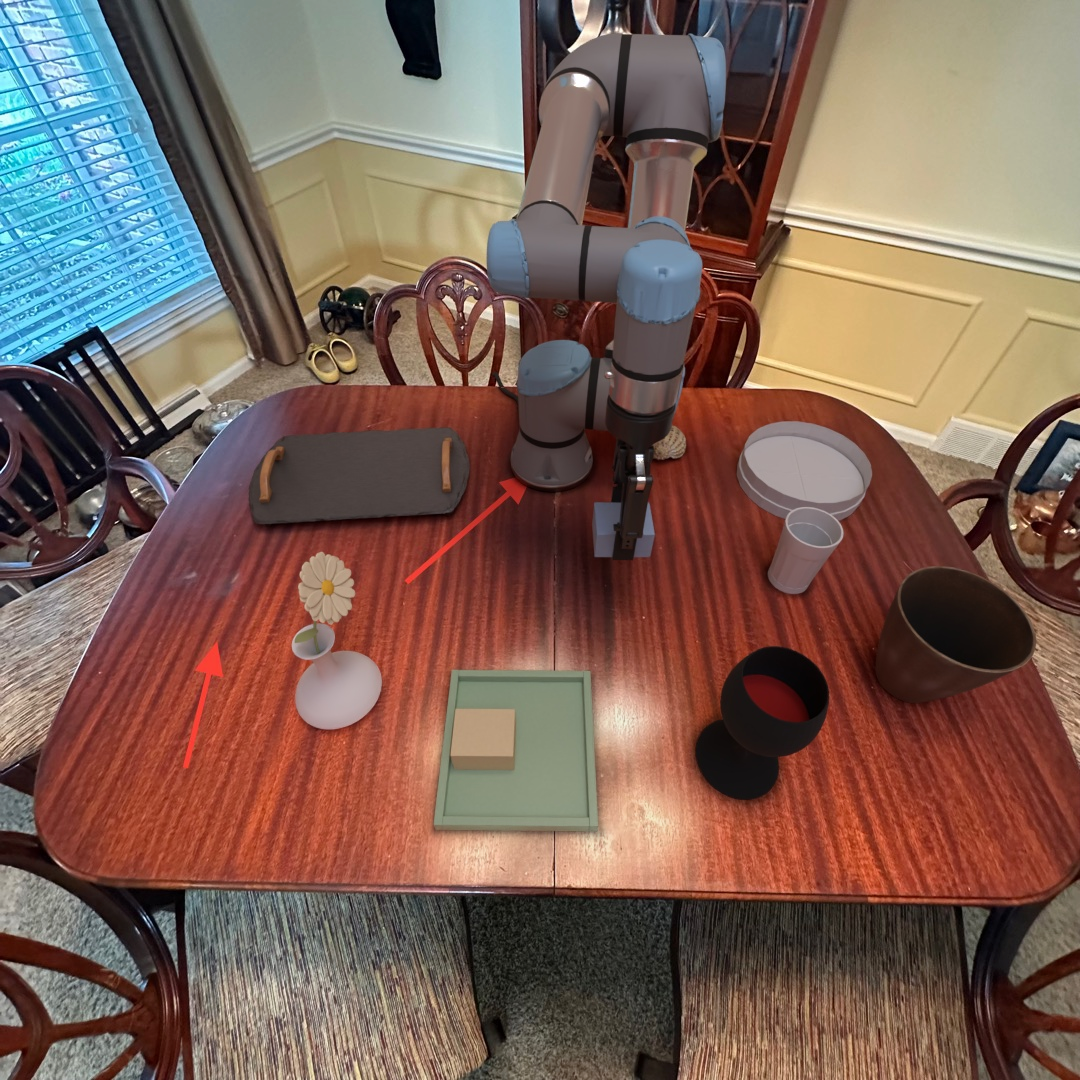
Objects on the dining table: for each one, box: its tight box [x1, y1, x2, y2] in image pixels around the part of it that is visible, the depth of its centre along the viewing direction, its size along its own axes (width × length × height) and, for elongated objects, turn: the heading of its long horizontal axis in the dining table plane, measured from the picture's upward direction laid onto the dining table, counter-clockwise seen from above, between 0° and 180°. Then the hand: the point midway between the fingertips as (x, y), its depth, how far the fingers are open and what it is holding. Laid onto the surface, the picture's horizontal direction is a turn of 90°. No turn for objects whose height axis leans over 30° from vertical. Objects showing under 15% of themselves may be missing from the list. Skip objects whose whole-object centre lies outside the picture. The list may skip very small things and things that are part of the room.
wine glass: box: [695, 645, 830, 801], centre depth 69 cm, size 10×10×20 cm
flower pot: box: [875, 565, 1037, 704], centre depth 77 cm, size 15×15×16 cm
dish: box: [736, 420, 873, 522], centre depth 108 cm, size 22×22×5 cm
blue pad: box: [591, 501, 656, 558], centre depth 81 cm, size 8×6×4 cm
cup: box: [767, 507, 844, 595], centre depth 91 cm, size 8×8×12 cm
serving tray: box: [248, 426, 471, 528], centre depth 107 cm, size 39×23×6 cm, turn 95°
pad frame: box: [433, 669, 599, 832], centre depth 76 cm, size 19×20×2 cm
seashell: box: [652, 424, 687, 461], centre depth 114 cm, size 8×6×10 cm
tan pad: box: [450, 709, 516, 770], centre depth 75 cm, size 8×6×4 cm
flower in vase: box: [291, 551, 383, 730], centre depth 73 cm, size 13×11×25 cm
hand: (620, 539), depth 83 cm, fingers closed on blue pad, 6 cm apart
